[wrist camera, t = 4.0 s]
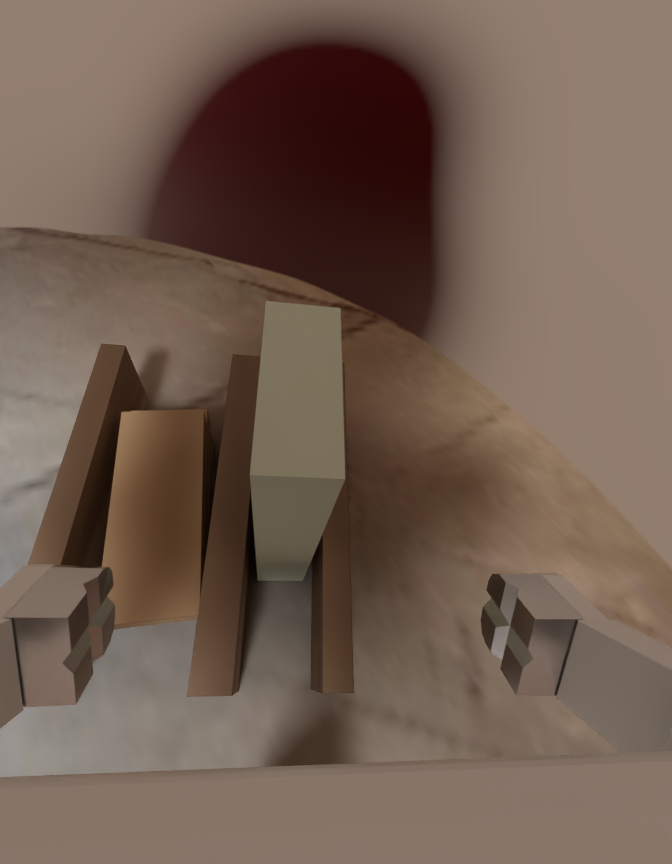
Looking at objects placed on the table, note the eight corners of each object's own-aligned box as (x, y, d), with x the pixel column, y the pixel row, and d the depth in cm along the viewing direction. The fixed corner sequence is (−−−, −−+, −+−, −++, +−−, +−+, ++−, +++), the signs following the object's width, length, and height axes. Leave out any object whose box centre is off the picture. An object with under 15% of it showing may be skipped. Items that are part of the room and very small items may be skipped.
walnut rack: (46, 694, 19) (-18, 701, 15) (127, 396, 27) (101, 343, 22) (335, 688, 21) (353, 692, 16) (332, 410, 29) (344, 363, 24)
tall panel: (257, 580, 23) (249, 475, 11) (265, 476, 26) (266, 300, 14) (302, 581, 23) (345, 479, 11) (305, 478, 26) (340, 308, 14)
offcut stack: (125, 635, 21) (94, 626, 17) (144, 436, 26) (123, 395, 22) (211, 624, 21) (199, 614, 18) (212, 434, 27) (204, 393, 23)
